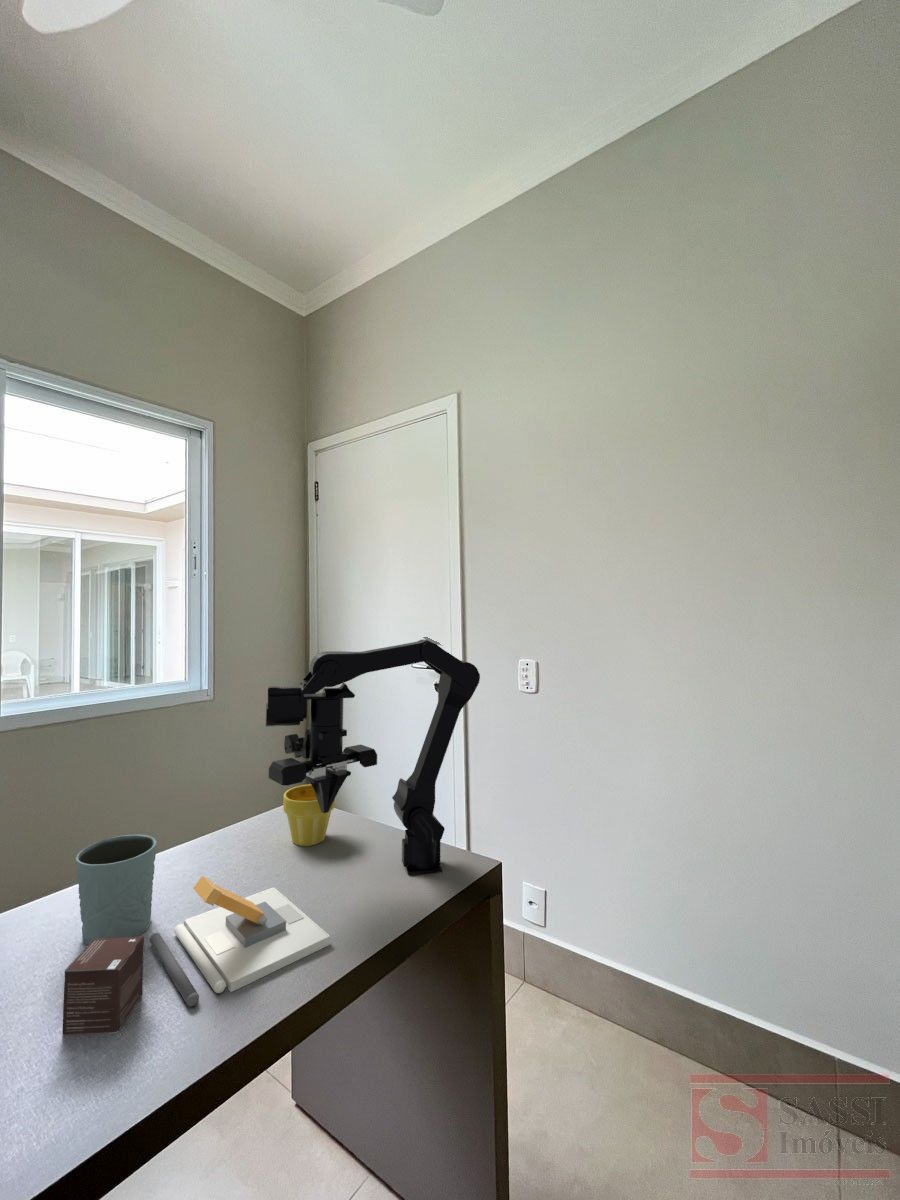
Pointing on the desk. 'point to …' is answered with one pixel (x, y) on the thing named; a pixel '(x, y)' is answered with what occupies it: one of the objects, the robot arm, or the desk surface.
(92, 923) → the grey-green cup
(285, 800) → the plant pot
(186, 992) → the rods
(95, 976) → the box
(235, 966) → the breaker panel
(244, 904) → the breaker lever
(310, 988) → the desk surface
